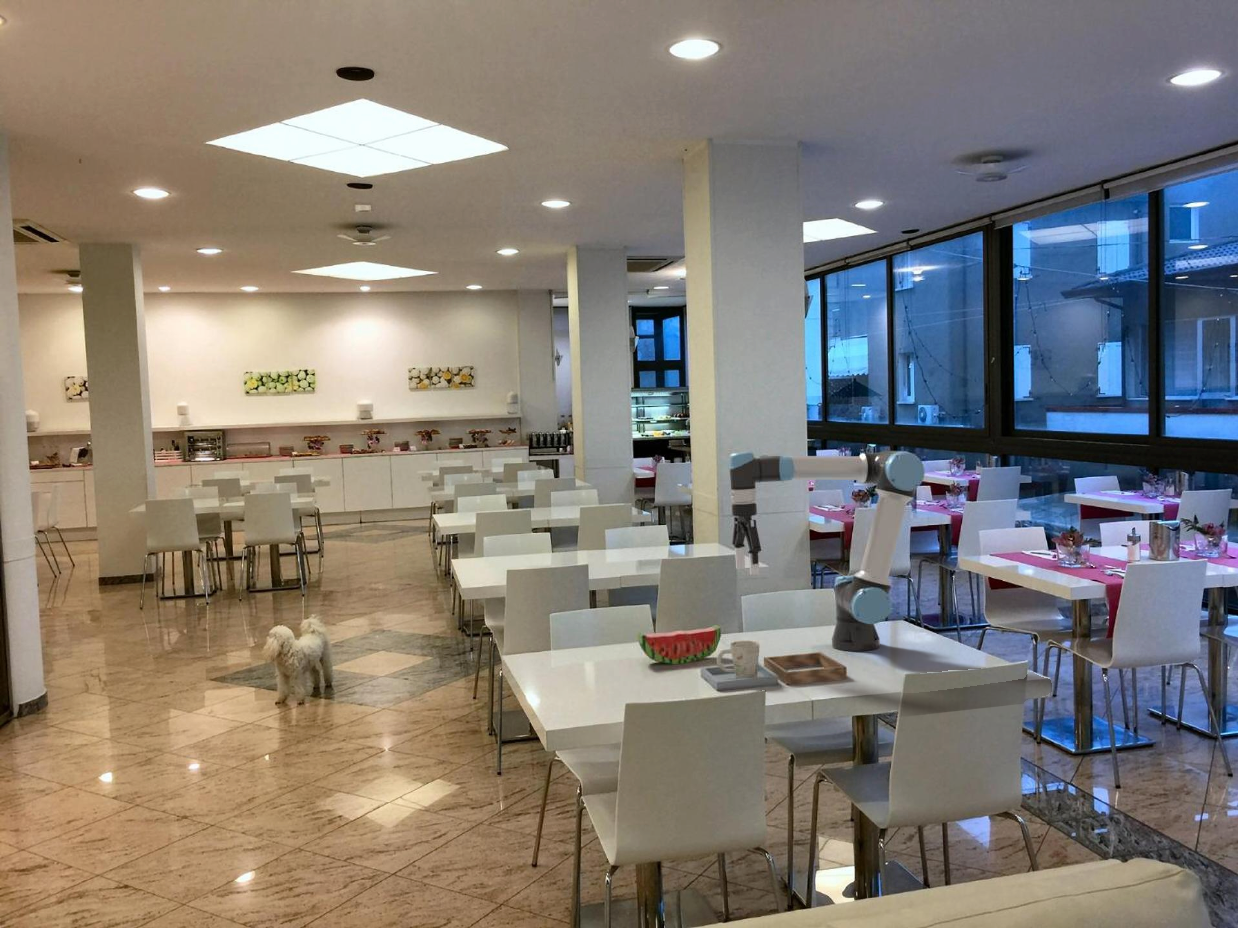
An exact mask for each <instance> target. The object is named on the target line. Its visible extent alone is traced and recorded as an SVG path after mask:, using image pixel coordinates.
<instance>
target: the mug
mask: <svg viewBox="0 0 1238 928" xmlns="http://www.w3.org/2000/svg"><path fill="white" fill-rule="evenodd" d="M729 645H730V648H728V649H727V648H725V649H722V650H721V651H719V653H718V654H717V657H716V664H717V666H719V667H720V668H721V669H722V670H723V671H725V672H735V676H736V679H743V678H753V677H757V670H758V662H759V657H760V643H759V642H758V641H754V640H738V641H734V642H731V643H730V644H729ZM726 654H731V658H732V662H733V664H732V665H734V669H726V668H725V667H724V666H725V665H724V664H723V663H722V658H723V656H724V655H726Z"/></svg>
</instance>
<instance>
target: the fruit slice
mask: <svg viewBox="0 0 1238 928" xmlns="http://www.w3.org/2000/svg"><path fill="white" fill-rule="evenodd" d="M637 637H638V638H637V639H638V640H637V641H638V643H639V646H640V648H641V650H642V651H643V653H644V655H645V656H646V657H648V658H649V659H650V660H653V661H654V662H659V663H662V664H663V663H664V664H670V665H678V664H688V663H693V662H695V661H699V660H702V659H705V658H709V657H710V656H712V655H713V654H714V653H715V652H716V650H717V648H718V645H719V643H720V640H721V637H722V628H721V626H719V625H717V624H714V625H711V627H706V628H698V629H697V628H696V629H690V630H675V631H674V630H673V631H669V632H655V633H644V632H641V631H639V632H637Z"/></svg>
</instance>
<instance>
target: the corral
mask: <svg viewBox="0 0 1238 928" xmlns="http://www.w3.org/2000/svg"><path fill="white" fill-rule="evenodd" d="M818 665H819V666H821V667H822V668H812V669H811V668H810V669H804V670H803V669H802V670H793V671H792V670H791V671H788V670H787V669H788V668H797V667H808V666H818ZM763 666H765V667H766V668H767V669H769V670H770V671H772V672H773V673H775V674H776V675H777V676H778V681H781V682H782V683H783V684H784V683H785V685H786V686H791V685H801V684H803V685H804V684H810V683H811V684H812V683H813V684H814V683H820V682H830V681H831V682H832V681H842V680H847V679H848V675H847V674H848V671H847V670H848V669H847V666H846V665H844V664H842V663H841V662H839V661H837V660H835V659H834V658H831V657H830V656H829V655H826V654H824V653H823V652H821V651H819V652H807V653H798V654H797V653H796V654H788V655H787V654H785V655H778V656H777V655H776V656H775V655H774V656H765V657H763Z"/></svg>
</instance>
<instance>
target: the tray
mask: <svg viewBox="0 0 1238 928" xmlns="http://www.w3.org/2000/svg"><path fill="white" fill-rule="evenodd" d="M723 666H724V667H725V668H726V669H734V664H728V665H727V664H726V665H723ZM700 677H701V678H702V679H703V680H704V681H705V682H707V683H708V684H709V686H711V687H712V688H713V689H714V690H715V691H716V692H719V691H720V692H723V691H729V690H740V689H751V688H762V687H771V686H777V685H778V686H779V679H778V676H777V675H776V674H775V673H773V672H772V671H770V670H769V669H767V668H766V667H765V666H764V664H762V663H760V662H759V661H758V670H757V677H753V678H743V679H736V676H735V672H725V671H723V670H722V669H721V668H720V667H719V666H718V665H717V666H706V667H700Z"/></svg>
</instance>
